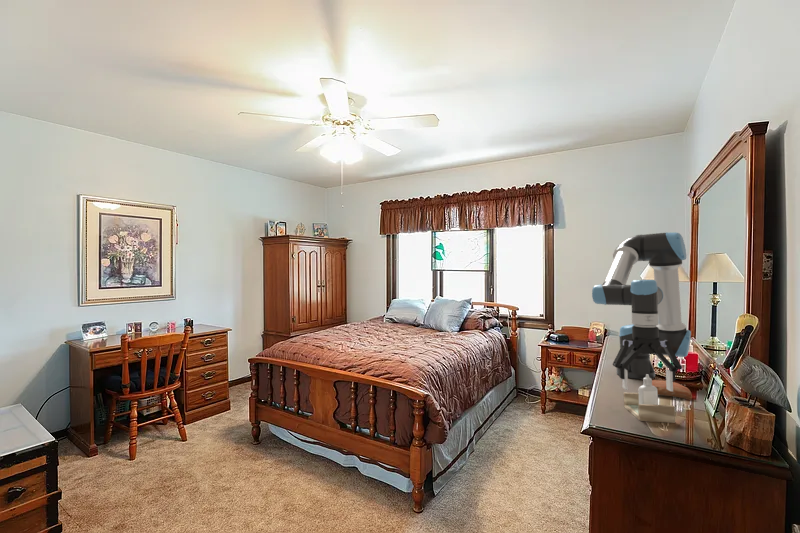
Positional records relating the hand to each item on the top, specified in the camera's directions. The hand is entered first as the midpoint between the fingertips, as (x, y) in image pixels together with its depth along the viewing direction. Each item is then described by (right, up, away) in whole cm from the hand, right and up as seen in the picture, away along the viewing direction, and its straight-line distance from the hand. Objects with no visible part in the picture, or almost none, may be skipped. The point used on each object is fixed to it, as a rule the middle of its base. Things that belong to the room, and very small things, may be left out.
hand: (647, 389), depth 127 cm
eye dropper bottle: (0, -7, 0) cm, 7 cm away
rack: (0, -8, 0) cm, 8 cm away
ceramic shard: (+22, -9, +22) cm, 32 cm away
